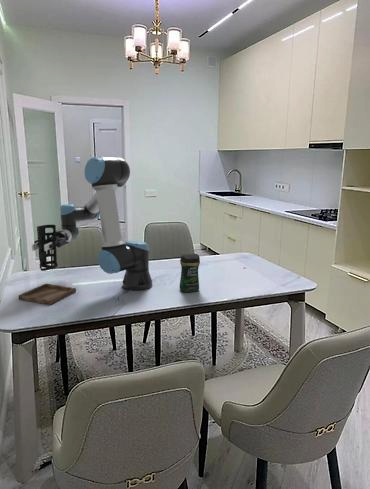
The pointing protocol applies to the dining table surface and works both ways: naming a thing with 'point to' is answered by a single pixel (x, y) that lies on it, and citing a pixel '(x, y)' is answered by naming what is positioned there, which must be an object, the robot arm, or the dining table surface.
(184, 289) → the coffee jar
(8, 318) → the dining table surface
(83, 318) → the dining table surface
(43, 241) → the holder
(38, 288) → the tray
